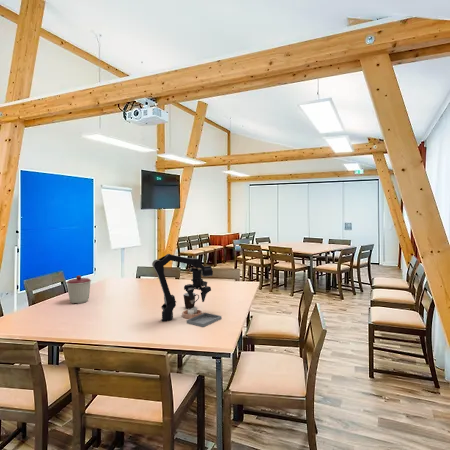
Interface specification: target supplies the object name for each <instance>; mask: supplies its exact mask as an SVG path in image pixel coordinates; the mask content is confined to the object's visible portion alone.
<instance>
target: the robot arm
mask: <svg viewBox="0 0 450 450" xmlns="http://www.w3.org/2000/svg"><path fill="white" fill-rule="evenodd" d="M170 261H172V262H175V263H182V264H186V265H189V266H192V267H191V268H190V269H189V270H188V271H189V272H192V279H191V282H192V283H187V284H184V287H183V290H184V291H186V293H188V294H189V296H190V298H191V300H193V293H194V291H195V290H198V291H200V296H201V297H200V298H201V302H202V303H204V302H205V300H206V296H207V294H208V293H210V292H211V291H212V288H211V286H210V285H209V286H208V281H206V280H205V281H204V279H203V278H202V276H203V277H213V275H214V274H213V273H214V272H213V268H212V265H207V266H204V264H203V263H202V260H201V259H199V258H197V257H185V256H180V255H174V254H172V253H166V254H165V255H164V256H162V257H160V258H157V259H154V260H153V262H152V263H151V265H152V267H153V270H154V271H155V272H156V275H157V277H158V280H159V283H160V287H161V290H162V293H163V300H164V301H163V302H164V303H163V304H162V305H161V307H160V308H161V310H162V311H161V319H160V322H164V323H166V322H168V321H172V320H173V319H174V312H173V311H174V308H175V307H176V306H177V301H176V297H175V295H173V294H171V292H170V288H169V285H168V283H167V282H168V281H167V279H166V275H165V268H164V267H165V266H166V265H167V264H168V263H169V262H170Z"/></svg>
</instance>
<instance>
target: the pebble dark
mask: <svg viewBox="0 0 450 450" xmlns="http://www.w3.org/2000/svg"><path fill="white" fill-rule="evenodd" d="M191 309H193V310H194V314H197V310H198V307H195V306H194V307H193V308H191Z"/></svg>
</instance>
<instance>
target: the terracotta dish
mask: <svg viewBox="0 0 450 450" xmlns="http://www.w3.org/2000/svg"><path fill="white" fill-rule="evenodd" d="M188 310H189V309H186V310H184V311H182V313H181V315H182V318H183V319H186V320H189V319H191V318H194V317H196V316H199V315H201V314H203V311H202V310H201V309H197V314H194V315H188Z"/></svg>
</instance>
